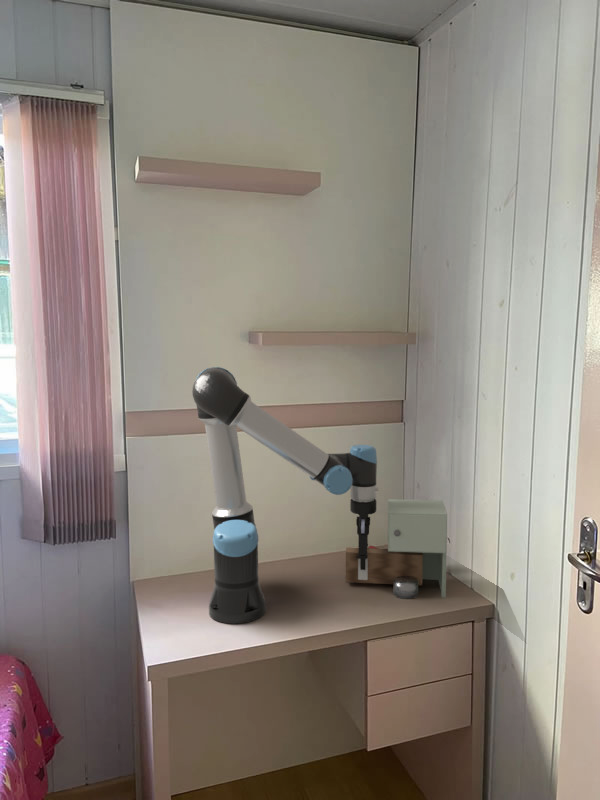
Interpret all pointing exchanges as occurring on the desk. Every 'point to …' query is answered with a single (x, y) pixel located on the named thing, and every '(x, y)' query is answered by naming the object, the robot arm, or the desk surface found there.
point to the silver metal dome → (405, 587)
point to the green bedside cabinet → (420, 534)
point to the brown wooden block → (384, 565)
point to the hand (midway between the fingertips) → (363, 576)
